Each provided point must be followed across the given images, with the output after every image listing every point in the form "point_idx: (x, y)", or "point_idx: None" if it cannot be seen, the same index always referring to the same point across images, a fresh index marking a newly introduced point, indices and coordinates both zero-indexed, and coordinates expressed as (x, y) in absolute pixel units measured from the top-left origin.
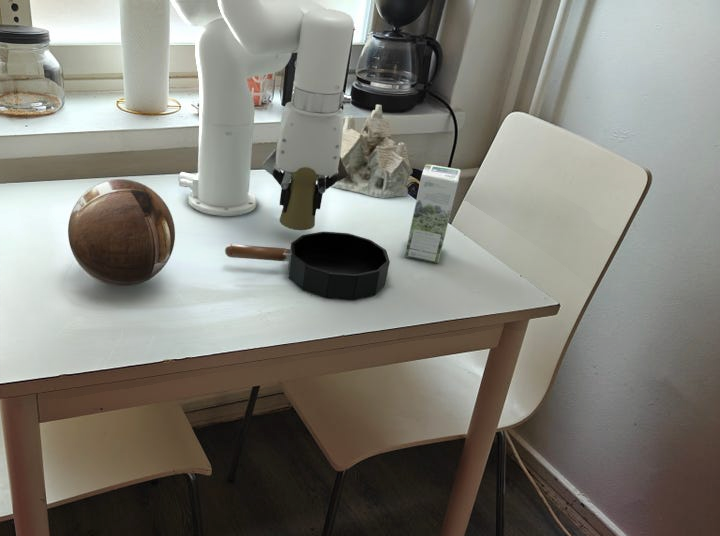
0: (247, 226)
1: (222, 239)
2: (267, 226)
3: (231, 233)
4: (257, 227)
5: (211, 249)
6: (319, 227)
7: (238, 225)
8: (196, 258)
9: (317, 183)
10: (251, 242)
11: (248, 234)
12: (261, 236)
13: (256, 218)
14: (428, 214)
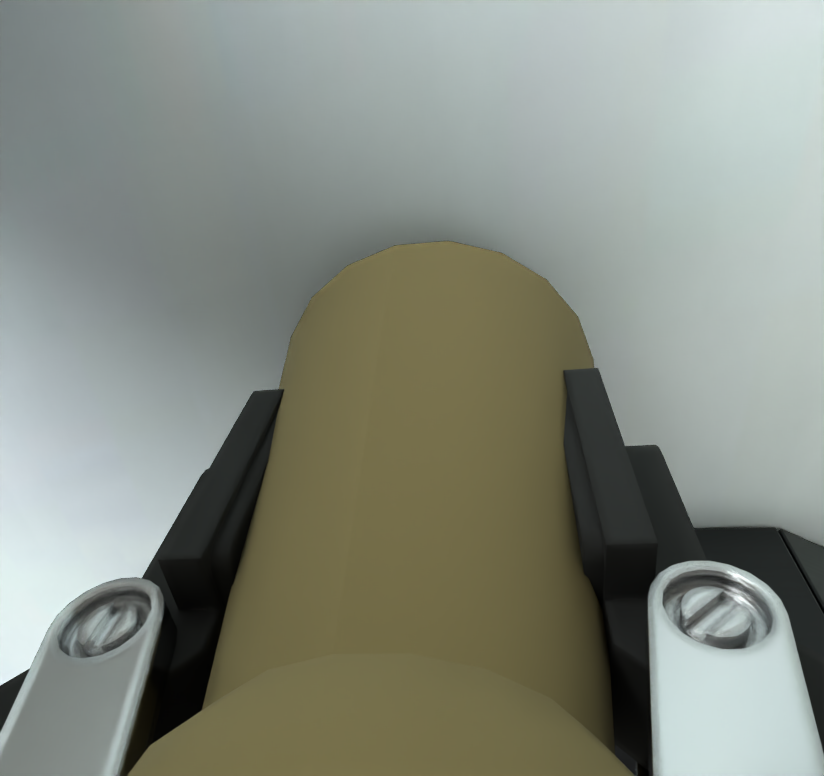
0: (75, 224)
1: (22, 451)
2: (211, 181)
3: (29, 364)
4: (147, 222)
5: (29, 563)
6: (658, 64)
7: (12, 224)
8: (14, 644)
9: (645, 666)
10: (186, 456)
11: (131, 354)
12: (218, 364)
13: (77, 27)
14: None
